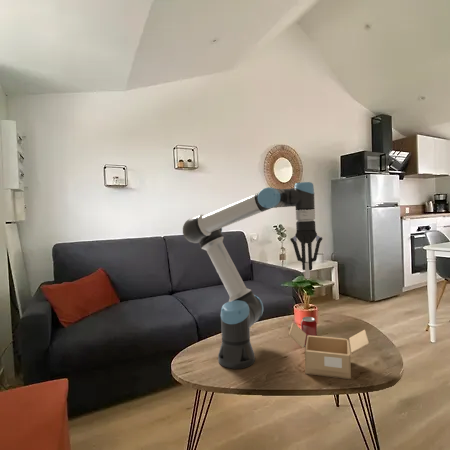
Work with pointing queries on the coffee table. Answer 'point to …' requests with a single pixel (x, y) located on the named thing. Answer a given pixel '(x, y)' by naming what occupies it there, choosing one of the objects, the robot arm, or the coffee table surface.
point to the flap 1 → (297, 335)
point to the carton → (328, 357)
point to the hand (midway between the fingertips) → (307, 278)
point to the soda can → (309, 326)
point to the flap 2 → (358, 341)
